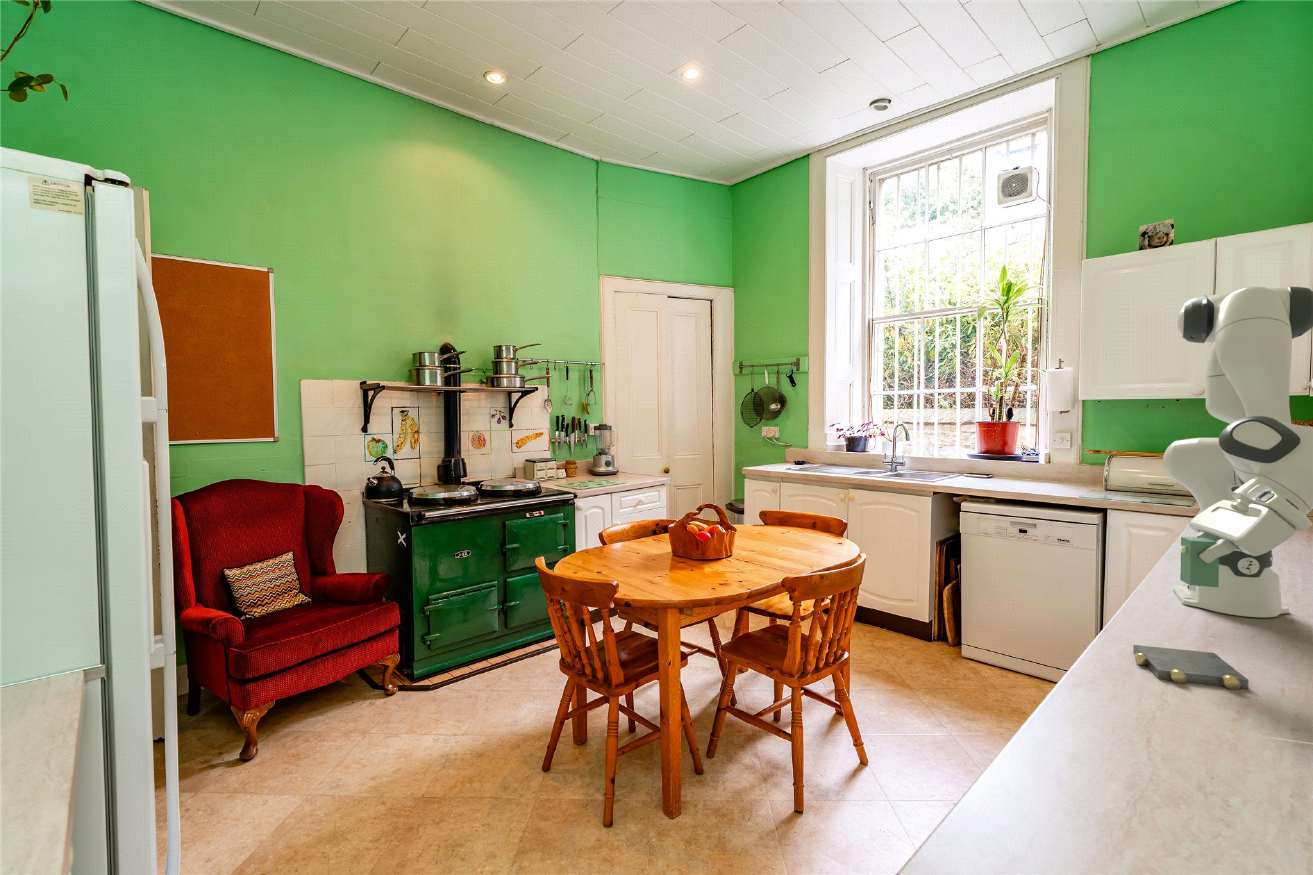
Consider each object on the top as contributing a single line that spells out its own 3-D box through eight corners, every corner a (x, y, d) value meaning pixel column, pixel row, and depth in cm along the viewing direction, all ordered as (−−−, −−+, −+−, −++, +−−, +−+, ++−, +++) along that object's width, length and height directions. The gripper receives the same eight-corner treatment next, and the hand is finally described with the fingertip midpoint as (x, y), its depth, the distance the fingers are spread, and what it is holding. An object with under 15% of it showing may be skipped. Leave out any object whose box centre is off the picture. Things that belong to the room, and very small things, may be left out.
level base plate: (1125, 651, 116) (1125, 641, 116) (1213, 660, 112) (1213, 649, 111) (1152, 680, 104) (1152, 668, 104) (1252, 692, 99) (1252, 679, 99)
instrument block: (1176, 579, 113) (1177, 536, 113) (1207, 581, 112) (1208, 538, 111) (1186, 585, 110) (1186, 540, 109) (1218, 587, 108) (1219, 542, 108)
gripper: (1220, 485, 117) (1157, 533, 121) (1283, 498, 98) (1205, 554, 102) (1250, 509, 116) (1184, 557, 119) (1319, 527, 97) (1239, 583, 100)
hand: (1194, 556), depth 111 cm, fingers closed on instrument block, 4 cm apart
